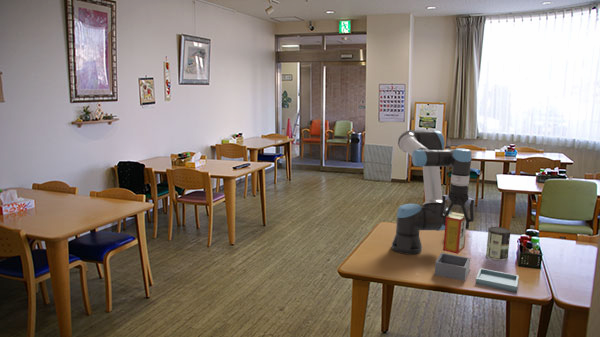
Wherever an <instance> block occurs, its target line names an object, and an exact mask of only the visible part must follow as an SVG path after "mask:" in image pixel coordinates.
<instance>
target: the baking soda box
mask: <svg viewBox="0 0 600 337" xmlns="http://www.w3.org/2000/svg"><path fill="white" fill-rule="evenodd" d="M465 221H466V220H465V216H464V213H461V212H460V213H459V212H453V211H451V214H449V215H448V216H446V222H445V230H444V234H443V235H444V236H443V245H442V246H443V247H442V251H443V252H449V253H451V254H455V255H458V254H459V253H460V252H462V251H463V250H464V249H465V242H466V236H465V237H464V236H463V229H464V222H465Z"/></svg>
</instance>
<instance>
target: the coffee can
mask: <svg viewBox="0 0 600 337" xmlns="http://www.w3.org/2000/svg"><path fill="white" fill-rule="evenodd" d="M510 240H511V230H510V229H508V228H505V227H501V226H490V227H488V228H487V240H486V241H487V243H486V250H485V251H486V252H485V257H487V258H488V259H490V260H494V261H499V262H500V261H501V262H502V261H507V260H509V249H510Z"/></svg>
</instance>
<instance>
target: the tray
mask: <svg viewBox="0 0 600 337" xmlns="http://www.w3.org/2000/svg"><path fill="white" fill-rule="evenodd" d="M519 277H520V275H518V274H512V273H507V272H502V271H497V270H492V269H486V268H482V267H481V268H479V270H478V272H477V275H476V278H475V285H479V286H484V287H488V288H493V289H499V290H502V291H503V290H504V291H508V292H513V293H517V291H518V285H519Z"/></svg>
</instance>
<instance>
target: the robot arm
mask: <svg viewBox="0 0 600 337" xmlns="http://www.w3.org/2000/svg"><path fill="white" fill-rule="evenodd" d="M445 142H446V141H445V138H444V135H443V133H442V132H441V131H440V130H433V129H430V130H429V129H410V130H407V131H404V132H402V133H401V134H400V135H399V137H398V140H397V145H398V148H399V149H400V150H401V151H402V152H404V153H407V154H408V155H410V156H411V163H412V164H413V166H415V167H420V168H422V175H423V177H422V178H423V188H424V202H423V203H422V206H421V205H420V204H418V203H406V204H402V205H401V204H400V206H399V207H398V208H397V212H396V225H395V226H396V227H395V228H396V229H395V236H394V238H393V240H392V241H391V242H392V243H391V249H392V250H393V251H394V252H397V253H399V254H404V255H417V254H420V253H422V250H423V246H422V242H421V238H420V231H436V232H439V231H445V222H446V216H448V215H449V214H451V213H452V209H453V207H454V206H457V205H458V206H460V207H461V209H462V214H464V216H465V220H466V221H465V222H464V229H463V236H464V237H465V238H466V235H467V230H469V228H470V222H471V223H472V222H474V221H475V211H474V210H475V206H474V203H475V201H476V199H475V198H471V197H469V184H470V178H471V176H470V173H471V165H472V150H471V149H467V148H460V147H459V148H455V149H453V148H448V149H445ZM440 167H443V168H446V167H448V168H449V167H450V168H451V177H450V187H449V194H443V193H442V192H443V191H442V190H443V189H442V181H441V170H440ZM448 199H449V200H450V204H449V206H448V207H447V200H448ZM467 201H468V203H469V213H468V210H467V205H466V203H467Z"/></svg>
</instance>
